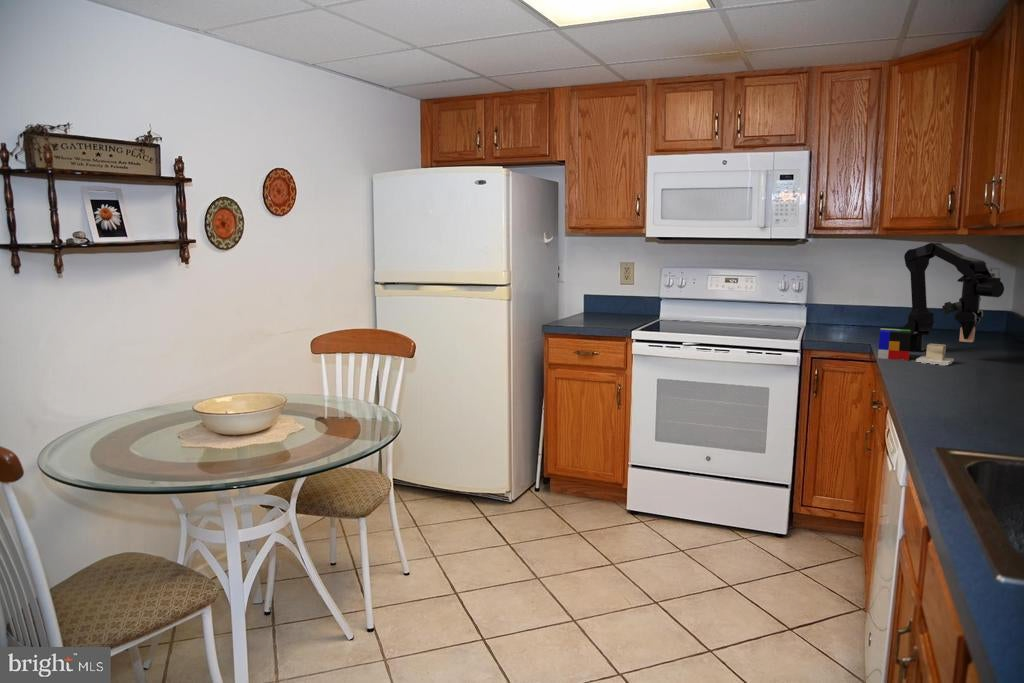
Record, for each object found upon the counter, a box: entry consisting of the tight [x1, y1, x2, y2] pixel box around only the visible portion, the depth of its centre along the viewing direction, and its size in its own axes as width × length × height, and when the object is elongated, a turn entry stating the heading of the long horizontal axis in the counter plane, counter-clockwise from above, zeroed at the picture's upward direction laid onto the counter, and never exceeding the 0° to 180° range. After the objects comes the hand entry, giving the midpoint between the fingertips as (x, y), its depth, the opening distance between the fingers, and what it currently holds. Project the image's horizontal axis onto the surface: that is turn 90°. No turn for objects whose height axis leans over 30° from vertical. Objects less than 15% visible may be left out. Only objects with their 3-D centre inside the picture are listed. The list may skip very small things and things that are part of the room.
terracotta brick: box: [958, 326, 976, 343], centre depth 262 cm, size 4×4×5 cm
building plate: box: [915, 355, 955, 366], centre depth 259 cm, size 10×10×1 cm
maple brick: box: [925, 343, 947, 361], centre depth 258 cm, size 5×5×5 cm
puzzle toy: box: [877, 327, 911, 361], centre depth 269 cm, size 10×10×10 cm
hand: (966, 338), depth 263 cm, fingers closed on terracotta brick, 4 cm apart
